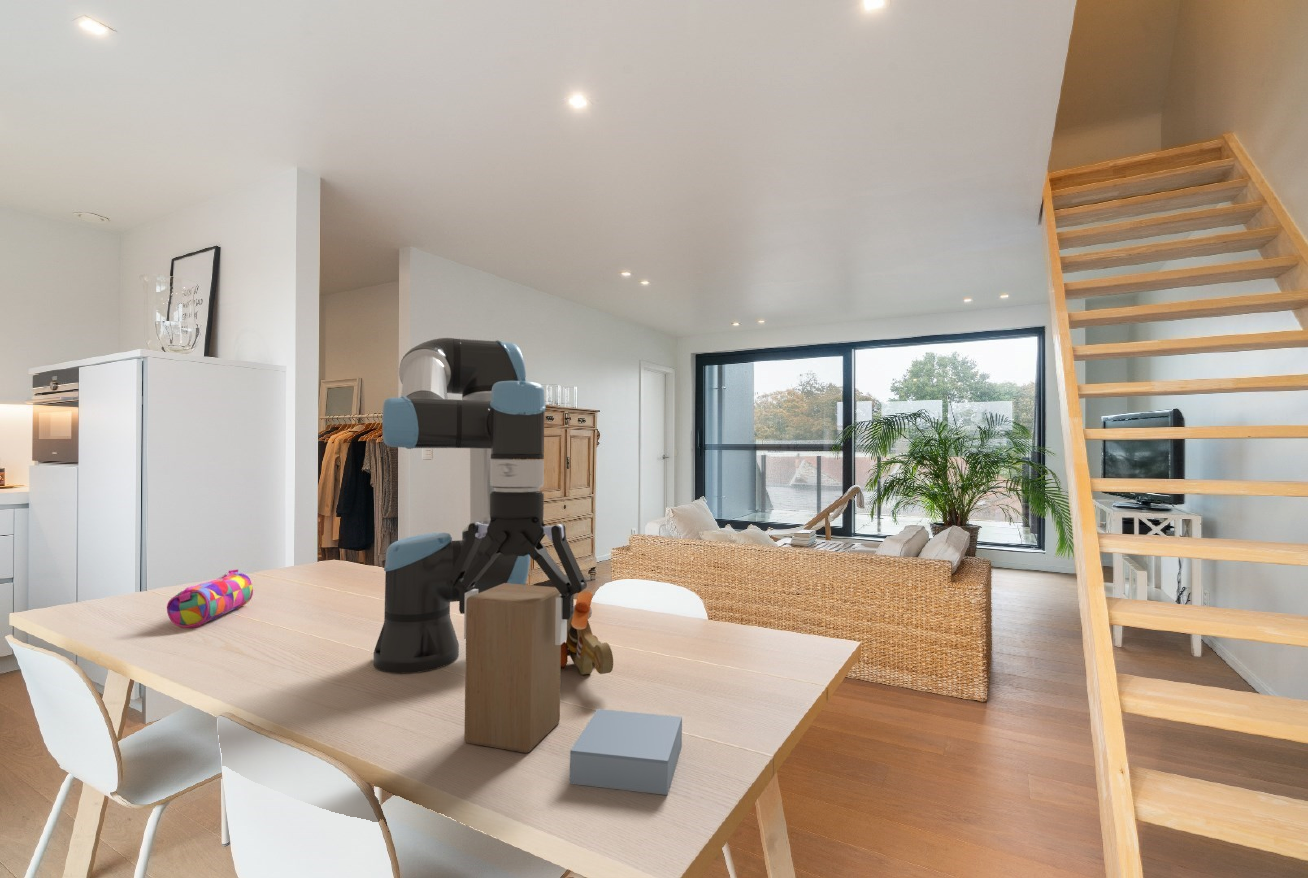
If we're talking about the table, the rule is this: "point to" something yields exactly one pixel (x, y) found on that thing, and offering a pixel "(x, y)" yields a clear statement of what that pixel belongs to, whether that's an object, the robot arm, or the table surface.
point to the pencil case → (210, 599)
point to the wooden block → (511, 667)
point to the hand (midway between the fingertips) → (515, 639)
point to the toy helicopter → (585, 640)
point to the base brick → (627, 751)
